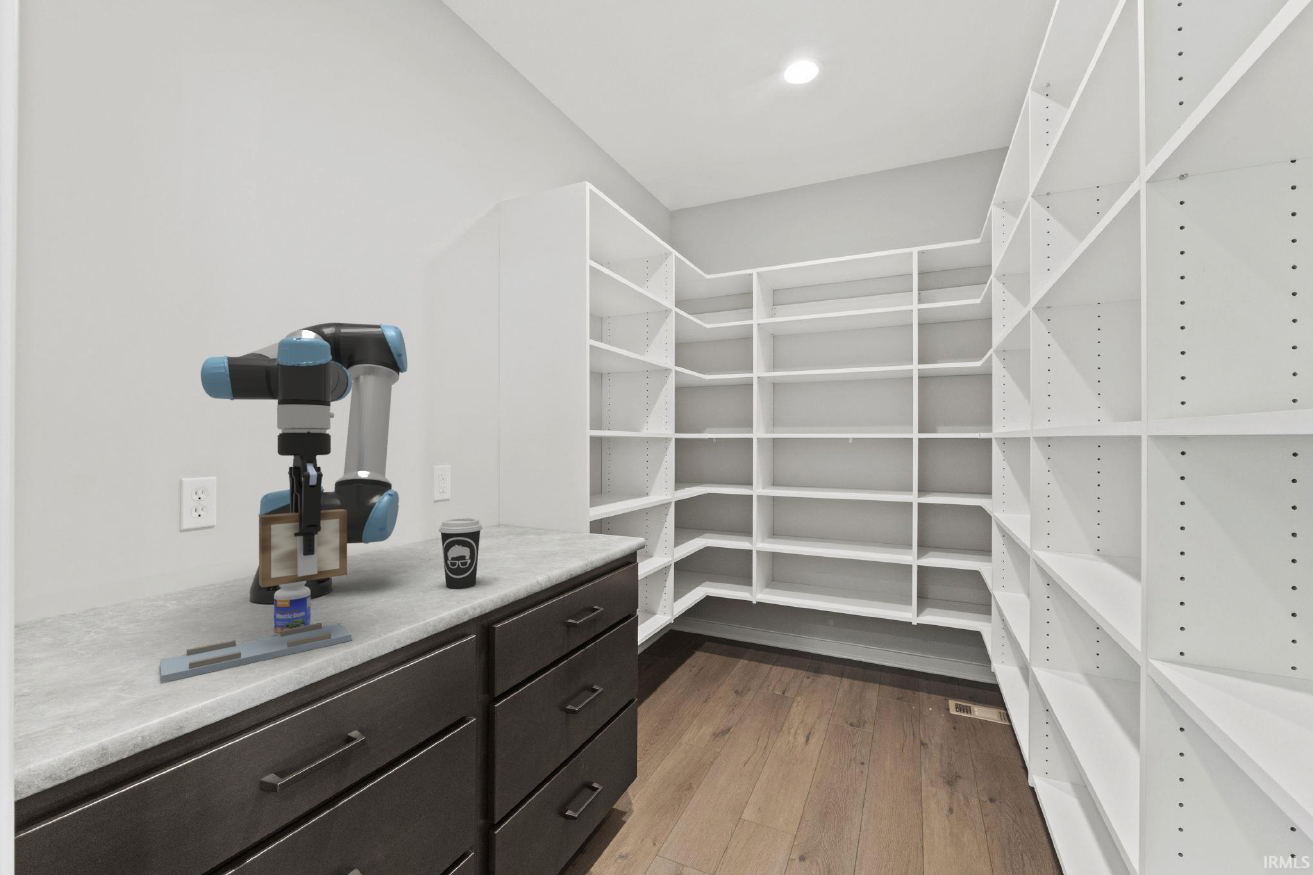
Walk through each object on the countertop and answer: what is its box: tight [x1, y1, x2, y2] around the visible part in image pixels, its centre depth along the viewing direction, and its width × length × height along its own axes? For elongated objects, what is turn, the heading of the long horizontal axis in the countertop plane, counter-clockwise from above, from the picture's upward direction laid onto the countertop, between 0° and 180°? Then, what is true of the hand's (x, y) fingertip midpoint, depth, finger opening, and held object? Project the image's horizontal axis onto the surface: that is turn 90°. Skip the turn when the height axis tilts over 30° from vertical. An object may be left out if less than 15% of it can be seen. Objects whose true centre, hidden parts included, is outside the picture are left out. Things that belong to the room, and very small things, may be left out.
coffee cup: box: [438, 517, 483, 590], centre depth 129 cm, size 10×10×15 cm
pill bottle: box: [273, 581, 312, 636], centre depth 98 cm, size 5×5×10 cm
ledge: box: [159, 622, 353, 684], centre depth 89 cm, size 8×24×2 cm, turn 132°
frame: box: [258, 509, 348, 587], centre depth 93 cm, size 12×3×11 cm, turn 132°
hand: (304, 572), depth 93 cm, fingers closed on frame, 3 cm apart
